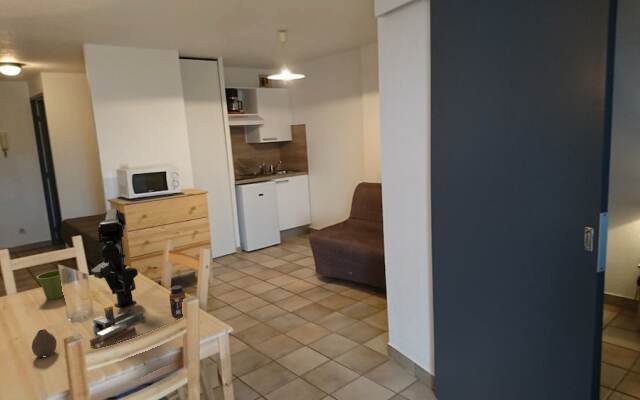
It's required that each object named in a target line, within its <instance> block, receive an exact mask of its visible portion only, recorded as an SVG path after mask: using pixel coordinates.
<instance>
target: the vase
mask: <svg viewBox="0 0 640 400" xmlns="http://www.w3.org/2000/svg"><path fill="white" fill-rule="evenodd" d="M57 346H58V345H57V339H56V338H55V336H54V335H53V334H52V333H51V332H49V331H48V330H47V329H46V328H45V329H44V328H43V329H39V330H38V331H37V333H36V335H35V337H34V338H33V339H32V342H31V350H32V353H33V355H34V356H36V357H37V358H39V357H43V356H48V355H50V356H52V355H53V354H54V353H55V351H56V349H57ZM52 353H53V354H52ZM51 354H52V355H51ZM48 357H49V356H48Z"/></svg>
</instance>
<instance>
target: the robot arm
mask: <svg viewBox="0 0 640 400" xmlns="http://www.w3.org/2000/svg"><path fill="white" fill-rule="evenodd" d="M104 212H105V213H104V215H103V216H102V221H100V223H99V225H98V228H97V229H98V230H97V231H98V244H100V243H103V248H102V251H101V256H102V262H101V263H99V264H97V265H96V266H95V267H94V268H92V269H91V271H90V272H91V273H92V275H93V276H94V278H96V279H100V280H102V279H104V280H105V281H106V284H107V285H108V287H109V289H110V291H111V293H112V296H113V295H116V303H115V304H114V307H117V308H121V309H125V308H127V307H129V306H132V305H134V304H136V303H137V301H135V300H133V294H132V292H134V290H136V288H137V287H136V283H135V278H136V277H137V276H139V271H138V269H137V268H135V267H127V264H126V261H125V259H126V255H125V250H124V243H123V241H124V239H123V237H124V234H125V230H126V226H127V220H126V215H125V213H123V212H122V211H120V210H119V208H110V209H107V210H105V211H104Z"/></svg>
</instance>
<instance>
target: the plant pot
mask: <svg viewBox="0 0 640 400" xmlns="http://www.w3.org/2000/svg"><path fill="white" fill-rule="evenodd" d="M59 270H60V269H59ZM59 270H58V269H57V270H51V271H46V272H44V273H41V274H39V275H37V276H36V279H37V280H38V281H39V283H40V286H41V287H42V290H43V293H44V295H45V299H46V300H57V299H60V298H62V297H64V296H63V292H62V286H61V280H60V274H59Z"/></svg>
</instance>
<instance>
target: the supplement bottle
mask: <svg viewBox="0 0 640 400" xmlns="http://www.w3.org/2000/svg"><path fill="white" fill-rule="evenodd" d="M184 298H186V291H184V290H183V288H182V286H181V285H174V286H172V287H171V292H170V293H169V302H170V303H169V304H170V312H171V316H172V317H181V316H183V315H182V302H183V299H184Z"/></svg>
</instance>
